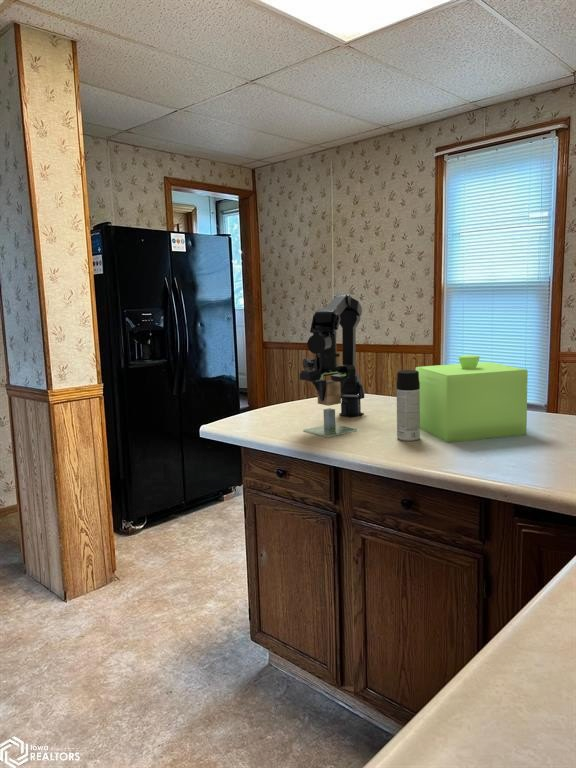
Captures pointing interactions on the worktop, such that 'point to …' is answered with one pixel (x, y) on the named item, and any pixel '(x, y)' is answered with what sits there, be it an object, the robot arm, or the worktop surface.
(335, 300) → the robot arm
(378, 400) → the worktop surface
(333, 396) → the brown shipping carton
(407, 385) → the spray can
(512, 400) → the canister
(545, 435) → the worktop surface
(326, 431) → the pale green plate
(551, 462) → the worktop surface
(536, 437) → the worktop surface
